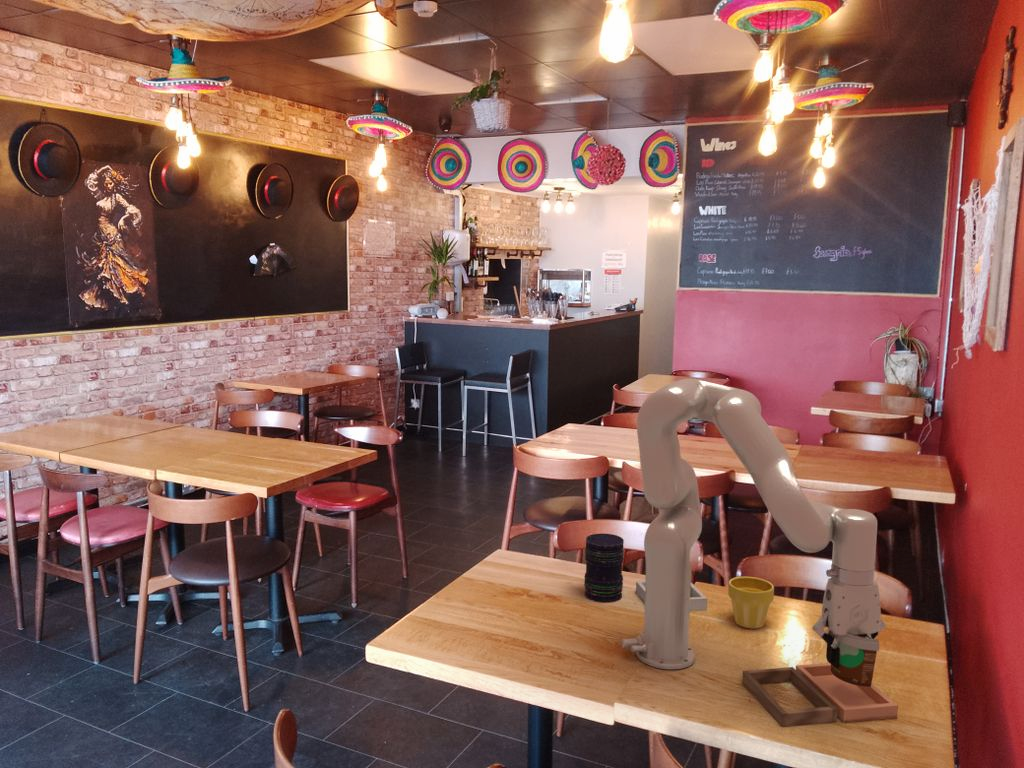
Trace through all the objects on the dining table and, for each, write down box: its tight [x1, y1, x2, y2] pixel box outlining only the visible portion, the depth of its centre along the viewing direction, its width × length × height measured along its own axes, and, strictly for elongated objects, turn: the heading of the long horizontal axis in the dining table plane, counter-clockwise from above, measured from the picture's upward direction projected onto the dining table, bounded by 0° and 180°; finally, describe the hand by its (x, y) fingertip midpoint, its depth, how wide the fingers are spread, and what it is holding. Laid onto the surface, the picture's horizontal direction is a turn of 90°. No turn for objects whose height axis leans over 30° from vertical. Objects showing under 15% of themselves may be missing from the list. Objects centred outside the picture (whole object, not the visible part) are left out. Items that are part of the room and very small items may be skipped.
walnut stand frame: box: [741, 666, 838, 728], centre depth 151 cm, size 11×16×2 cm
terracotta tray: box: [795, 662, 899, 724], centre depth 153 cm, size 11×17×2 cm, turn 10°
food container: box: [830, 632, 880, 687], centre depth 152 cm, size 12×6×10 cm, turn 6°
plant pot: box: [727, 576, 775, 630], centre depth 185 cm, size 10×10×10 cm
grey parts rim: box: [635, 580, 708, 612], centre depth 198 cm, size 14×13×3 cm
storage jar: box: [583, 533, 625, 604], centre depth 200 cm, size 10×10×15 cm
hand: (846, 662), depth 152 cm, fingers closed on food container, 5 cm apart
